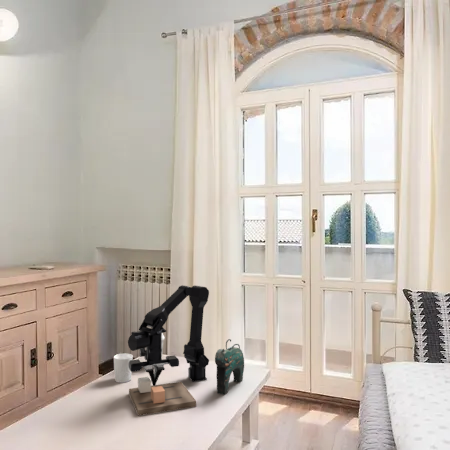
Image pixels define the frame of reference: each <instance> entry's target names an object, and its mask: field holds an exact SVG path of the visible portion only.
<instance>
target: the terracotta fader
mask: <svg viewBox="0 0 450 450" xmlns="http://www.w3.org/2000/svg"><path fill="white" fill-rule="evenodd" d="M151 399H152V401H153V403H154V404H155V403H162V402H165V390H164V389H163V387H162V386H157V387H151Z"/></svg>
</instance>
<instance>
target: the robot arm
mask: <svg viewBox="0 0 450 450" xmlns="http://www.w3.org/2000/svg"><path fill="white" fill-rule="evenodd" d="M209 296H210V291H209V288H207V287H206V286H202V285H193V286H191V287H190V286H189V285H183V284H182V285H179V286H178V288H177V289H176V290H175V291H174V292H173V293H172V294H171V295H170V296H169V297H168V298H166V300H165V301H164V302H163V303H162V304H160V305H159V306H157V307H156V308H153V309H151V310H150V311H148V312H147V313H146V314H145V316H144V319H143V321H142V323H140V325H139V328H138V331H137V330H136V331H135V330H134V331H131V332H130V333H131V334H130V336H129V337H128V339H127V344H128V345H127V346H128V348H129V349H130V351H133V352H134V351H135V352H136V351H139V358H142V357H144V360H145V361H140V359H133V360H130V361H129V369H130V371H131V372H132V373H133V372H136V373H137V372H140V371H141V370H142V368H143V369H144V371H145V373H147V374H148V375H149V379H150V380H151V385H152V386H155V385H157V381H158V380H159V377H160V376H161V374H162V371H165V369H166V368H165V367H164V366H165V365H169V366H170V367H171V368H175V367H180V361H179V360H180V359H179V358H178V357H177V356H176V355H166V357H165V359H163V352H162V333H163V334H164V333H166V332H167V330H166V329H165V328H164V325H166V323H167V321H168V318H169V316H170V314H172V312H173V311H174V310H175V309H176V308H177V307H178V306H179V305H180V304H181V303H182V302H183V301H184V300H185V299H186V298H187V297H188V298H189V302H190V304H191V316H190V318H191V319H190V328H189V330H190V331H189V340H188V342H187V343H185V344H184V345H183V353H182V354H183V357H184V358H185V360H186V363H187V364H189V367H188V368H187V369H188V371H187V372H188V374H187V375H188V376H187V377H188V379H190V381H191V382H192V383H193V382H199V381H207V379H208V378H207V377H206V372H207V371H206V368H207V366H208V365H209V362H210V359H209V358H208V357H207V356H206V355H205V347H204V345H203V343H202V342H203V341H202V333H203V332H202V331H203V320H204V319H203V318H204V307H205V306H206V305H207V303H208V300H209ZM146 347H147V348H146ZM152 366H154V369H153V368H152Z"/></svg>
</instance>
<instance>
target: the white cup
mask: <svg viewBox="0 0 450 450" xmlns="http://www.w3.org/2000/svg"><path fill="white" fill-rule="evenodd" d="M133 357H134V356H133V354H131V353H118V354H116V355H114V356H113V371H114V381H115V382H117V383H127V382H130V381H131V380H132V373H133V372H131V371H130V369H129V361H130V360H134V359H133Z"/></svg>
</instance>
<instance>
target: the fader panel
mask: <svg viewBox="0 0 450 450" xmlns="http://www.w3.org/2000/svg"><path fill="white" fill-rule="evenodd" d="M157 386H162V387H163V389H164V390H165V402H162V403H155V404H154V403H153V401H152V399H151V392H145V393H140V391H139V389H138V387H133V388H129V389H128V395H129V397H130V401H131V402H132V404H133V406H134V409H135V412H136V415H137V416H138V417H139V416H140V417H141V416H147V415H152V414H158V413H164V412H170V411H171V412H172V411H176V410H183V409H188V408H194V407H197V400H196V398H195V397H194V396H193V395H192V394H191V393H190V391H189V389H188V388H187V387H186V386H185V384H183V382H182V381H176V382H175V381H174V382H169V383H162V384H156V385H155V386H153V385H151V387H157Z"/></svg>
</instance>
